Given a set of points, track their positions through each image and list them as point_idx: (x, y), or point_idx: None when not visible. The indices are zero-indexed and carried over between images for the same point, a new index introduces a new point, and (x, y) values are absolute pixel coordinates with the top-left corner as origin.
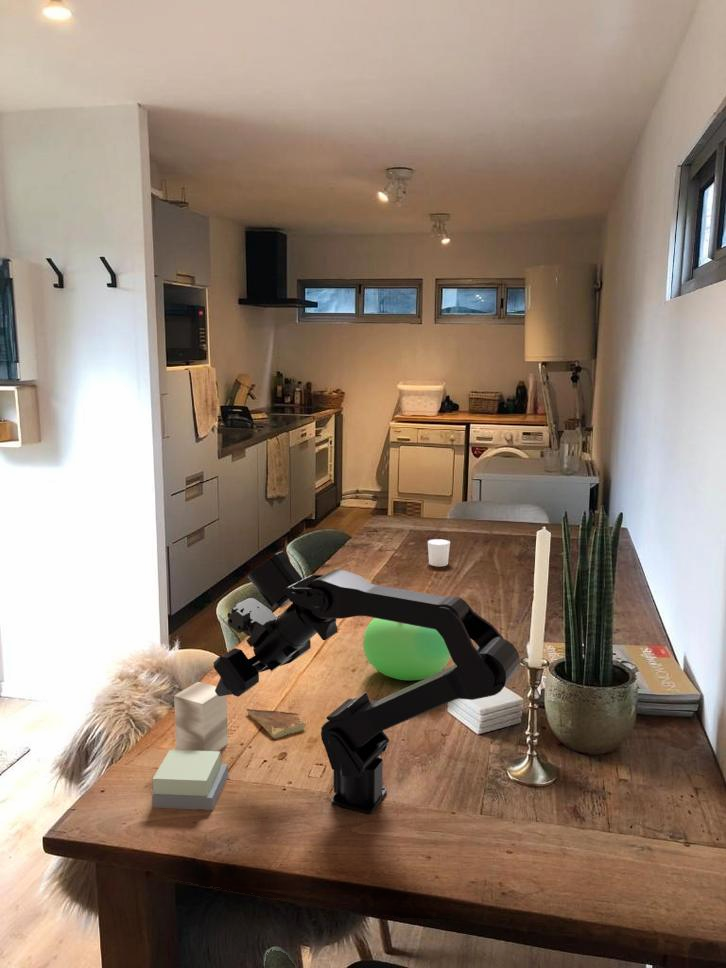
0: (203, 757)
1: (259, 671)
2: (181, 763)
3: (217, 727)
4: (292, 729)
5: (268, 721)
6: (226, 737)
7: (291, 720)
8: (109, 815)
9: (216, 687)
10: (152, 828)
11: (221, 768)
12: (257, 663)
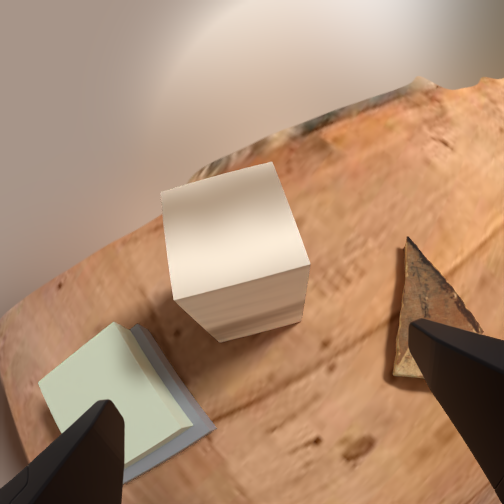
0: (137, 413)
1: (427, 380)
2: (93, 390)
3: (262, 315)
4: None
5: (417, 318)
6: (297, 317)
7: None
8: (31, 349)
9: (78, 419)
10: (45, 429)
11: (188, 433)
12: (444, 360)
